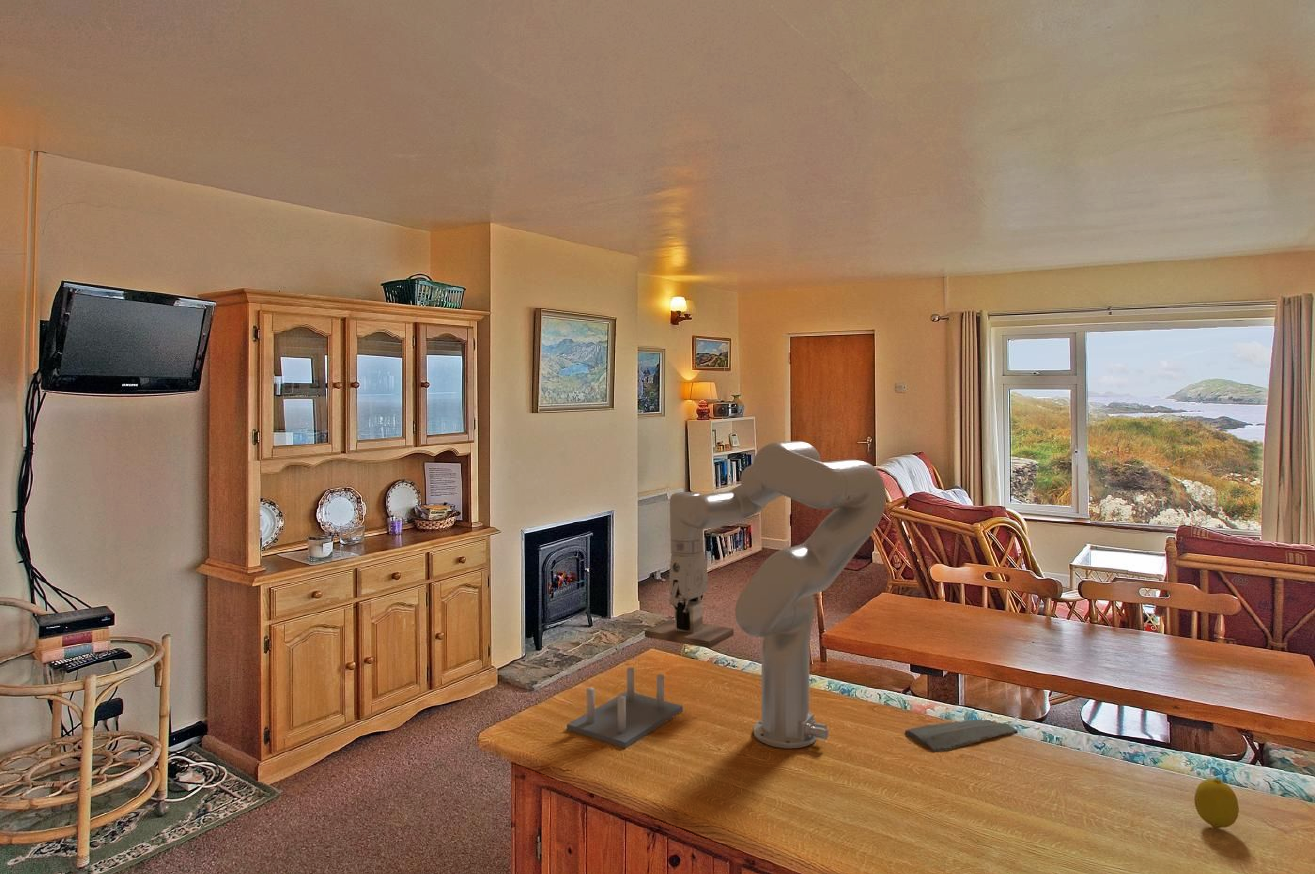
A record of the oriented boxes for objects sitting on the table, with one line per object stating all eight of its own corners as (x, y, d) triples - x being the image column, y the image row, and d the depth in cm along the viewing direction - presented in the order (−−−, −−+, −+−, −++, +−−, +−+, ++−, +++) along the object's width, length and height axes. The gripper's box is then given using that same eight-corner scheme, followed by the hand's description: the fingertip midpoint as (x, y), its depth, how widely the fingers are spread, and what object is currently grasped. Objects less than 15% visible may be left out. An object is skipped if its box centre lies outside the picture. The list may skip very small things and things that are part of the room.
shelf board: (733, 635, 168) (732, 602, 168) (709, 648, 159) (708, 613, 159) (671, 625, 178) (670, 594, 177) (644, 636, 168) (643, 604, 168)
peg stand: (682, 711, 161) (682, 674, 161) (625, 748, 144) (625, 707, 143) (627, 696, 170) (627, 660, 169) (566, 729, 152) (566, 690, 152)
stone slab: (901, 740, 150) (936, 755, 141) (900, 726, 150) (935, 740, 141) (984, 724, 159) (1023, 737, 149) (983, 711, 159) (1022, 723, 150)
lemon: (1185, 819, 119) (1186, 770, 118) (1217, 817, 119) (1218, 769, 119) (1213, 839, 113) (1215, 788, 113) (1247, 837, 114) (1249, 787, 113)
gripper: (681, 554, 159) (683, 638, 159) (719, 542, 173) (721, 620, 173) (652, 551, 163) (654, 633, 163) (692, 539, 177) (693, 615, 177)
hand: (688, 625), depth 168 cm, fingers closed on shelf board, 4 cm apart
